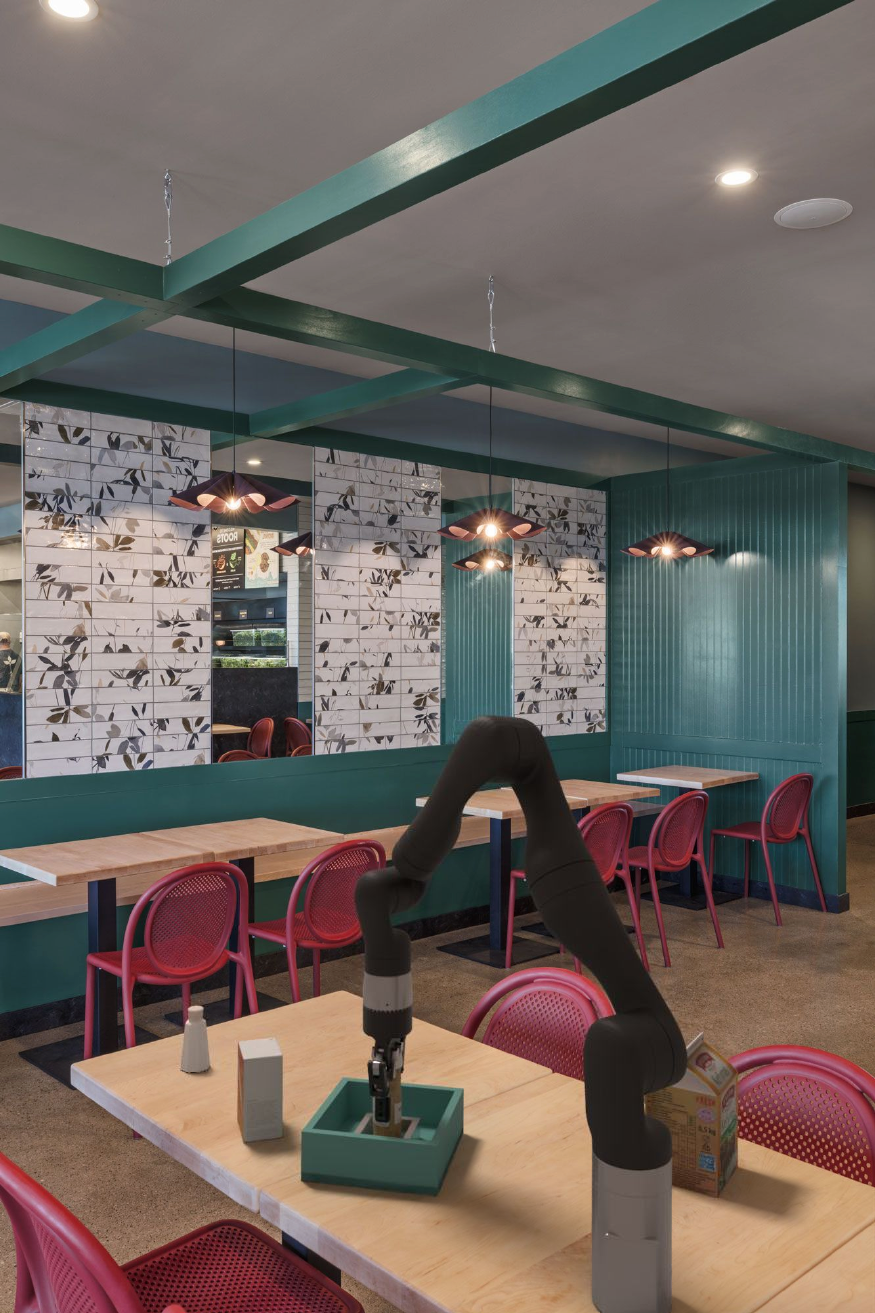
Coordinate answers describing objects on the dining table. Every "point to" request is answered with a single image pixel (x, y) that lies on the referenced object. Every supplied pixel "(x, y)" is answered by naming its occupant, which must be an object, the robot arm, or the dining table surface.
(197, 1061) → the salt shaker
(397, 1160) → the walled box
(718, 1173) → the milk carton
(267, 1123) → the small box
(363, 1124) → the socket collar
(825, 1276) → the dining table surface
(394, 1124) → the sprinkles bottle
